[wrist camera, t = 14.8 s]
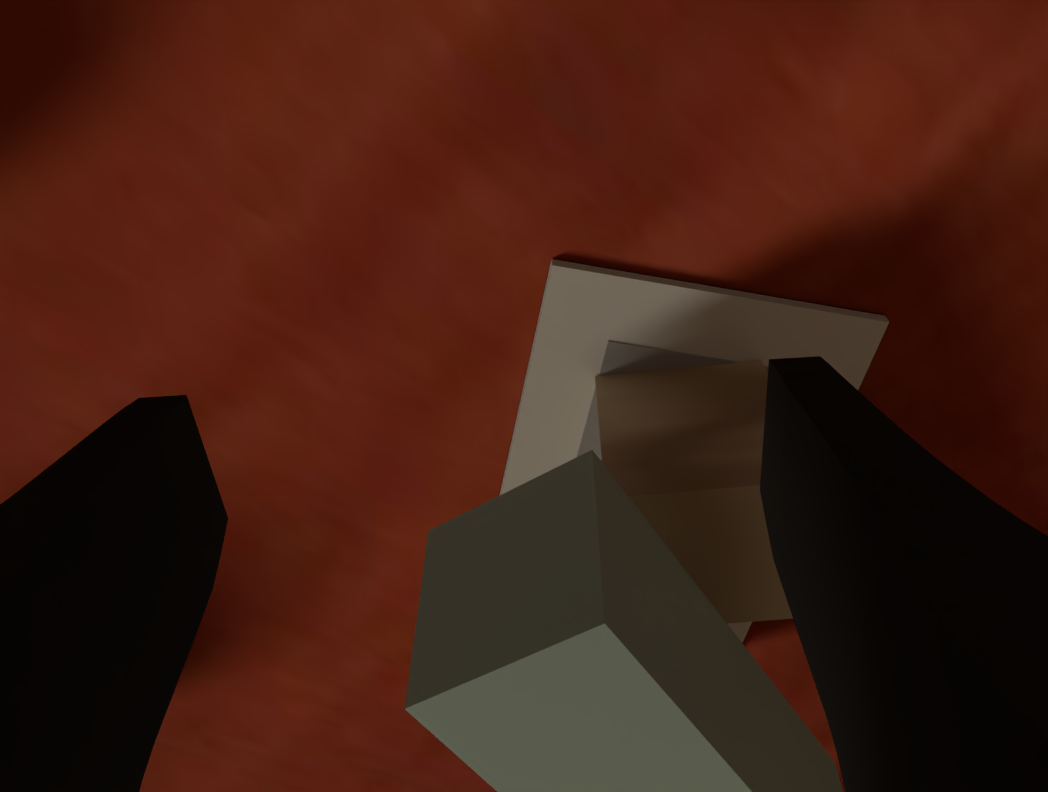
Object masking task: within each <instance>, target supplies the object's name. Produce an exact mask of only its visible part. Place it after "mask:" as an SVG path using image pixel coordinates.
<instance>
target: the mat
mask: <svg viewBox="0 0 1048 792" xmlns="http://www.w3.org/2000/svg"><path fill="white" fill-rule="evenodd" d="M888 324H889V321H888V319H887V318H886V316H883V315H878V314H872V313H866V312H860V311H854V310H848V309H842V308H836V307H830V306H825V305H819V304H813V303H807V302H801V301H795V300H789V299H783V298H778V297H772V296H766V295H760V294H754V293H748V292H742V291H736V290H731V289H725V288H719V287H713V286H707V285H701V284H695V283H689V282H683V281H678V280H672V279H666V278H660V277H654V276H648V275H642V274H636V273H631V272H625V271H619V270H613V269H607V268H601V267H595V266H589V265H584V264H578V263H572V262H566V261H560V260H554V259H551V264H550V268H549V273H548V278H547V282H546V287H545V291H544V296H543V300H542V305H541V309H540V314H539V318H538V323H537V327H536V332H535V337H534V341H533V346H532V350H531V355H530V359H529V364H528V368H527V373H526V377H525V382H524V386H523V391H522V396H521V400H520V405H519V409H518V414H517V418H516V423H515V427H514V432H513V436H512V441H511V445H510V450H509V455H508V459H507V464H506V468H505V473H504V477H503V482H502V486H501V491H500V495H502V494H504V493H506V492H508V491H510V490H512V489H514V488H516V487H518V486H520V485H522V484H524V483H526V482H528V481H530V480H532V479H534V478H536V477H538V476H540V475H542V474H544V473H546V472H548V471H550V470H552V469H554V468H556V467H558V466H560V465H562V464H564V463H566V462H568V461H570V460H572V459H574V458H576V457H578V456H580V455H582V454H584V453H586V452H588V451H590V450H593V451H594V452H595V454H596V455H597V456H598V458H599V459H600V460H601V461H602V456H601V444H600V432H599V420H598V408H597V396H596V384H595V376H603V375H613V374H623V373H634V372H644V371H654V370H665V369H675V368H686V367H696V366H706V365H717V364H727V363H738V362H748V361H758V360H762V361H763V364H764V367H765V370H766V373H767V375H768V365H769V359H782V358H798V357H815V356H821V357H822V358H823V359H824V360H825V361H826V362H827V363H829V364H830V365H831V366H832V367H833V368H834V369H835V370H836V371H837V372H838V373H839V374H840V375H842V376H843V377H844V378H845V379H846V380H847V381H848V382H849V383H850V384H851V385H852V386H853V387H855V388H856V389H857V390H859V387H860V385H861V383H862V381H863V379H864V376H865V374H866V372H867V370H868V368H869V365H870V363H871V361H872V359H873V357H874V355H875V352H876V350H877V348H878V346H879V344H880V341H881V339H882V337H883V335H884V333H885V331H886V328H887V326H888ZM500 495H499V496H500ZM751 623H752V622H740V623H727V624H728V625H729V627H730V628H731V629H732V631H733V632H734V633H735V635H736V636H737V637H738V638H739V640H740V641H741V642H742V643H743V641H744V639H745V636H746V634H747V632H748V630H749V628H750V625H751Z"/></svg>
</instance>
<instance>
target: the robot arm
mask: <svg viewBox="0 0 1048 792" xmlns="http://www.w3.org/2000/svg"><path fill="white" fill-rule="evenodd" d="M760 494H761V499H762V504H763V510H764V515H765V520H766V526H767V531H768V535H769V540H770V545H771V550H772V555H773V560H774V563H775V566H776V569H777V572H778V575H779V578H780V581H781V584H782V587H783V590H784V593H785V596H786V599H787V602H788V605H789V608H790V611H791V614H792V617H793V620H794V623H795V626H796V629H797V632H798V634H799V637H800V640H801V643H802V646H803V649H804V652H805V655H806V658H807V661H808V664H809V667H810V670H811V673H812V675H813V678H814V681H815V684H816V687H817V690H818V693H819V696H820V699H821V702H822V705H823V708H824V711H825V714H826V717H827V720H828V724H829V727H830V731H831V734H832V737H833V741H834V744H835V748H836V751H837V756H838V760H839V765H840V769H841V773H842V778H843V782H844V787H845V791H846V792H1048V536H1046V535H1045V534H1043V533H1041V532H1040V531H1038V530H1037V529H1035V528H1033V527H1032V526H1030V525H1029V524H1027V523H1025V522H1024V521H1022V520H1021V519H1019V518H1017V517H1016V516H1014V515H1013V514H1011V513H1010V512H1009V511H1007V510H1006V509H1004V508H1003V507H1001V506H1000V505H998V504H997V503H995V502H994V501H992V500H991V499H990V498H988V497H987V496H986V495H984V494H983V493H981V492H980V491H979V490H977V489H976V488H975V487H973V486H972V485H971V484H969V483H968V482H967V481H965V480H964V479H963V478H961V477H960V476H958V475H957V474H956V473H954V472H953V471H952V470H950V469H949V468H948V467H947V466H945V465H944V464H943V463H942V462H940V461H939V460H938V459H936V458H935V457H934V456H933V455H931V454H930V453H929V452H928V451H927V450H925V449H924V448H923V447H922V446H920V445H919V444H918V443H917V442H916V441H914V440H913V439H912V438H911V437H910V436H909V435H907V434H906V433H905V432H904V431H903V430H901V429H900V428H899V427H898V426H897V425H896V424H894V423H893V422H892V421H891V420H890V419H889V418H888V417H886V416H885V415H884V414H883V413H882V412H881V411H880V410H879V409H878V408H876V407H875V406H874V405H873V404H872V403H871V402H870V401H869V400H868V399H867V398H865V397H864V396H863V395H862V394H861V393H860V392H859V391H858V390H857V389H856V388H855V387H853V386H852V385H851V384H850V383H849V382H848V381H847V380H846V379H845V378H844V377H843V376H842V375H840V374H839V373H838V372H837V371H836V370H835V369H834V368H833V367H832V366H831V365H830V364H829V363H827V362H826V361H825V360H824V359H823V358H822V357H821V356H815V357H798V358H782V359H769V365H768V379H767V394H766V408H765V422H764V436H763V450H762V464H761V478H760ZM227 521H228V517H227V514H226V511H225V508H224V505H223V502H222V499H221V496H220V493H219V490H218V487H217V484H216V481H215V478H214V475H213V472H212V469H211V466H210V463H209V461H208V458H207V455H206V452H205V449H204V446H203V443H202V440H201V437H200V434H199V431H198V428H197V425H196V422H195V419H194V416H193V413H192V410H191V407H190V404H189V401H188V398H187V395H179V396H163V397H147V398H138V399H137V400H135V401H134V402H132V403H131V404H129V405H128V406H126V407H125V408H124V409H122V410H121V411H119V412H118V413H117V414H115V415H114V416H113V417H111V418H110V419H109V420H107V421H106V422H105V423H104V424H102V425H101V426H100V427H98V428H97V429H96V430H95V431H93V432H92V433H91V434H90V435H88V436H87V437H86V438H85V439H83V440H82V441H81V442H80V443H78V444H77V445H76V446H75V447H73V448H72V449H71V450H70V451H68V452H67V453H66V454H65V455H63V456H62V457H61V458H60V459H58V460H57V461H56V462H55V463H53V464H52V465H51V466H49V467H48V468H47V469H46V470H44V471H43V472H42V473H41V474H39V475H38V476H37V477H36V478H34V479H33V480H32V481H30V482H29V483H28V484H27V485H25V486H24V487H23V488H22V489H20V490H19V491H18V492H17V493H15V494H14V495H13V496H11V497H10V498H9V499H7V500H6V501H5V502H3V503H2V504H0V792H139V790H140V787H141V783H142V779H143V776H144V773H145V770H146V767H147V764H148V761H149V758H150V755H151V752H152V749H153V746H154V743H155V740H156V737H157V735H158V732H159V729H160V727H161V724H162V722H163V719H164V716H165V714H166V711H167V708H168V706H169V703H170V701H171V698H172V695H173V693H174V690H175V688H176V685H177V682H178V680H179V677H180V675H181V672H182V669H183V667H184V664H185V662H186V659H187V656H188V654H189V651H190V648H191V646H192V643H193V641H194V638H195V635H196V633H197V630H198V627H199V624H200V622H201V619H202V616H203V614H204V611H205V608H206V606H207V603H208V600H209V597H210V594H211V592H212V589H213V585H214V581H215V577H216V572H217V568H218V564H219V560H220V555H221V550H222V545H223V540H224V536H225V531H226V526H227Z"/></svg>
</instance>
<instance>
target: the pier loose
mask: <svg viewBox="0 0 1048 792" xmlns="http://www.w3.org/2000/svg"><path fill="white" fill-rule="evenodd" d="M767 379H768V375H767V373H766V370H765V367H764V364H763V361H762V360H758V361H748V362H738V363H727V364H717V365H706V366H696V367H686V368H675V369H665V370H654V371H644V372H634V373H623V374H613V375H603V376H595V384H596V396H597V408H598V420H599V432H600V444H601V456H602V463H603V464H604V465H605V467H606V468H607V469H608V471H609V472H610V473H611V474H612V476H613V477H614V478H615V480H616V481H617V482H618V483H619V485H620V486H621V487H622V489H623V490H624V491H625V492H626V494H627V495H628V496H629V498H630V499H631V500H632V502H633V503H634V504H635V505H636V507H637V508H638V509H639V511H640V512H641V513H642V514H643V516H644V517H645V518H646V520H647V521H648V522H649V523H650V525H651V526H652V527H653V529H654V530H655V531H656V533H657V534H658V535H659V536H660V538H661V539H662V540H663V542H664V543H665V544H666V545H667V547H668V548H669V549H670V551H671V552H672V553H673V554H674V556H675V557H676V558H677V560H678V561H679V562H680V564H681V565H682V566H683V567H684V569H685V570H686V571H687V573H688V574H689V575H690V576H691V578H692V579H693V580H694V582H695V583H696V584H697V585H698V587H699V588H700V589H701V591H702V592H703V593H704V594H705V596H706V597H707V598H708V600H709V601H710V602H711V604H712V605H713V606H714V607H715V609H716V610H717V611H718V613H719V614H720V615H721V616H722V618H723V619H724V620H725V622H726V623H740V622H754V621H767V620H780V619H793V617H792V614H791V611H790V608H789V605H788V602H787V599H786V596H785V593H784V590H783V587H782V584H781V581H780V578H779V575H778V572H777V569H776V566H775V563H774V560H773V555H772V550H771V545H770V540H769V535H768V531H767V526H766V520H765V515H764V510H763V504H762V499H761V494H760V478H761V464H762V450H763V436H764V422H765V408H766V394H767Z"/></svg>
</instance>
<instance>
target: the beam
mask: <svg viewBox="0 0 1048 792" xmlns="http://www.w3.org/2000/svg"><path fill="white" fill-rule="evenodd" d="M405 710H407V711H408V712H409V713H410V714H411V715H412V716H413V717H414V718H416V719H417V720H418V721H419V722H420V723H421V724H422V725H423V726H424V727H426V728H427V729H428V730H429V731H430V732H431V733H432V734H433V735H435V736H436V737H437V738H438V739H439V740H440V741H441V742H442V743H443V744H445V745H446V746H447V747H448V748H449V749H450V750H451V751H452V752H454V753H455V754H456V755H457V756H458V757H459V758H460V759H461V760H462V761H464V762H465V763H466V764H467V765H468V766H469V767H470V768H471V769H473V770H474V771H475V772H476V773H477V774H478V775H479V776H480V777H482V778H483V779H484V780H485V781H486V782H487V783H488V784H489V785H490V786H492V787H493V788H494V789H495V790H496V791H497V792H843V790H842V786H841V783H840V779H839V776H838V772H837V768H836V765H835V762H834V761H833V760H832V758H831V757H830V756H829V755H828V753H827V752H826V751H825V749H824V748H823V747H822V746H821V744H820V743H819V742H818V740H817V739H816V738H815V737H814V735H813V734H812V733H811V731H810V730H809V729H808V728H807V726H806V725H805V724H804V722H803V721H802V720H801V718H800V717H799V716H798V715H797V713H796V712H795V711H794V709H793V708H792V707H791V706H790V704H789V703H788V702H787V700H786V699H785V698H784V697H783V695H782V694H781V693H780V691H779V690H778V689H777V687H776V686H775V685H774V684H773V682H772V681H771V680H770V678H769V677H768V676H767V675H766V673H765V672H764V671H763V669H762V668H761V667H760V666H759V664H758V663H757V662H756V660H755V659H754V658H753V656H752V655H751V654H750V653H749V651H748V650H747V649H746V647H745V646H744V645H743V644H742V642H741V641H740V640H739V638H738V637H737V636H736V635H735V633H734V632H733V631H732V629H731V628H730V627H729V625H728V624H727V623H726V622H725V620H724V619H723V618H722V616H721V615H720V614H719V613H718V611H717V610H716V609H715V607H714V606H713V605H712V604H711V602H710V601H709V600H708V598H707V597H706V596H705V594H704V593H703V592H702V591H701V589H700V588H699V587H698V585H697V584H696V583H695V582H694V580H693V579H692V578H691V576H690V575H689V574H688V573H687V571H686V570H685V569H684V567H683V566H682V565H681V564H680V562H679V561H678V560H677V558H676V557H675V556H674V554H673V553H672V552H671V551H670V549H669V548H668V547H667V545H666V544H665V543H664V542H663V540H662V539H661V538H660V536H659V535H658V534H657V533H656V531H655V530H654V529H653V527H652V526H651V525H650V523H649V522H648V521H647V520H646V518H645V517H644V516H643V514H642V513H641V512H640V511H639V509H638V508H637V507H636V505H635V504H634V503H633V502H632V500H631V499H630V498H629V496H628V495H627V494H626V492H625V491H624V490H623V489H622V487H621V486H620V485H619V483H618V482H617V481H616V480H615V478H614V477H613V476H612V474H611V473H610V472H609V471H608V469H607V468H606V467H605V465H604V464H603V463H602V461H601V460H600V459H599V458H598V456H597V455H596V454H595V452H594V451H593V450H590V451H588V452H586V453H584V454H582V455H580V456H578V457H576V458H574V459H572V460H570V461H568V462H566V463H564V464H562V465H560V466H558V467H556V468H554V469H552V470H550V471H548V472H546V473H544V474H542V475H540V476H538V477H536V478H534V479H532V480H530V481H528V482H526V483H524V484H522V485H520V486H518V487H516V488H514V489H512V490H510V491H508V492H506V493H504V494H502V495H500V496H498V497H496V498H494V499H492V500H490V501H487V502H485V503H483V504H481V505H479V506H477V507H475V508H473V509H471V510H469V511H467V512H465V513H463V514H461V515H459V516H457V517H455V518H453V519H451V520H449V521H447V522H445V523H443V524H441V525H439V526H437V527H435V528H433V529H431V530H429V532H428V540H427V547H426V554H425V562H424V569H423V577H422V584H421V592H420V599H419V606H418V614H417V621H416V629H415V636H414V644H413V651H412V659H411V666H410V673H409V681H408V688H407V696H406V703H405Z"/></svg>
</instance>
